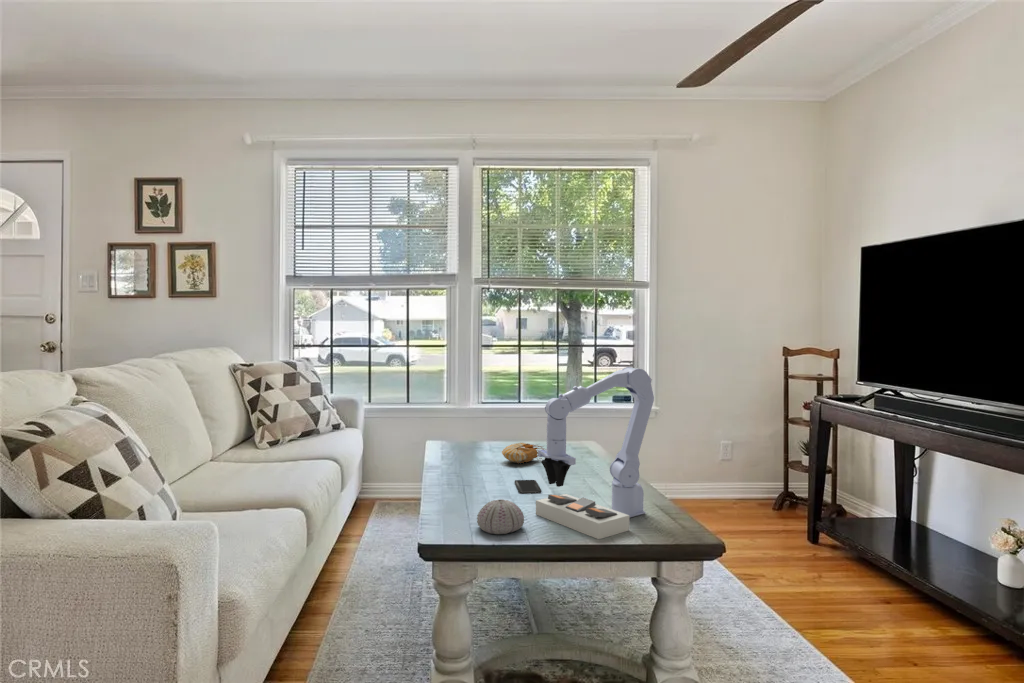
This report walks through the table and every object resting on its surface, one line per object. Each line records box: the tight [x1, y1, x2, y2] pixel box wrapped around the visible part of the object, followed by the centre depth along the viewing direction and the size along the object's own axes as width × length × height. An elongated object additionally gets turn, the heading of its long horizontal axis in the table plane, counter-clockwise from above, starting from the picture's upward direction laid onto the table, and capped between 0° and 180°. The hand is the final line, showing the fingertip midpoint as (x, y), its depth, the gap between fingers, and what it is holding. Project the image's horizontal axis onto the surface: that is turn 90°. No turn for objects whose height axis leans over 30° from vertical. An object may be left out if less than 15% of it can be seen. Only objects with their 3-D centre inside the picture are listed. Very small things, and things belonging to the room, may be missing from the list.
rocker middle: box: [566, 497, 597, 512], centre depth 169 cm, size 7×5×2 cm
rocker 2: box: [586, 508, 617, 518], centre depth 162 cm, size 7×5×2 cm
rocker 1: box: [547, 494, 577, 504], centre depth 175 cm, size 7×5×2 cm
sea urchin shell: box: [476, 498, 525, 535], centre depth 163 cm, size 13×14×8 cm
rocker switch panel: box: [535, 493, 630, 540], centre depth 169 cm, size 12×26×4 cm, turn 37°
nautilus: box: [501, 442, 547, 464], centre depth 246 cm, size 8×22×15 cm
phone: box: [514, 479, 542, 494], centre depth 206 cm, size 8×1×15 cm
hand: (555, 484), depth 174 cm, fingers open, 3 cm apart
